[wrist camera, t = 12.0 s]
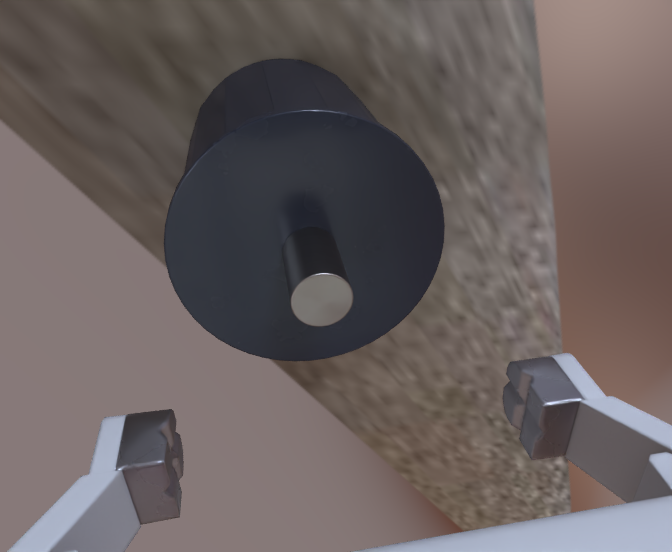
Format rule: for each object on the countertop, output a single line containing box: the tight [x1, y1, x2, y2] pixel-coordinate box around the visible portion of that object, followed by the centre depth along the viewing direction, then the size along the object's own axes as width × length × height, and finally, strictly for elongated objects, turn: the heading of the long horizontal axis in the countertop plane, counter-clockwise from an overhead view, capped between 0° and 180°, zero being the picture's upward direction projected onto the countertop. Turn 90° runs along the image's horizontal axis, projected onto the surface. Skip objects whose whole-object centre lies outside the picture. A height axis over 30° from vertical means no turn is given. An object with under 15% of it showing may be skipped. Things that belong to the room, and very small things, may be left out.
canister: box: [185, 59, 378, 171], centre depth 31 cm, size 11×11×12 cm
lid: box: [164, 106, 445, 361], centre depth 24 cm, size 12×12×5 cm
